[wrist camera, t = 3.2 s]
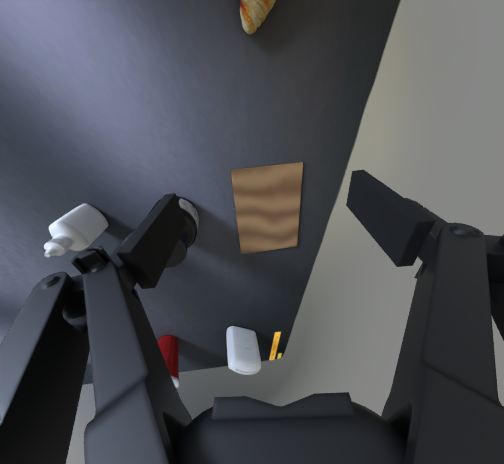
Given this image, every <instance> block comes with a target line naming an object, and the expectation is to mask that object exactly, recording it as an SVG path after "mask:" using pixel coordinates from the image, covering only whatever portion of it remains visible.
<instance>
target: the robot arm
mask: <svg viewBox="0 0 504 464" xmlns="http://www.w3.org/2000/svg"><path fill="white" fill-rule="evenodd" d="M346 205H347V207H348V208H349V209H350V210H351V212H352V213H353V214H354V215H355V216H356V218H357V219H358V220H359V221H360V222H361V224H362V225H363V226H364V227H365V229H366V230H367V231H368V232H369V233H370V234H371V236H372V237H373V238H374V239H375V241H376V242H377V243H378V244H379V246H380V247H381V248H382V249H383V250H384V252H385V253H386V254H387V255H388V256H389V258H390V259H391V260H392V261H393V262H394V264H395V265H396V266H397V267H401V266H412V265H413V264H414V262H415V260H416V258H417V256H418V257H419V258H420V259H421V260H422V261H423V263H422V265H421V267H420V268H419V270H418V272H417V274H416V276H415V278H417V282H416V287H415V291H414V296H413V299H412V304H411V308H410V312H409V317H408V320H407V325H406V329H405V333H404V337H403V342H402V346H401V351H400V354H399V359H398V363H397V367H396V371H395V375H394V380H393V384H392V388H391V392H390V394H389V397H388V399H387V401H386V404H385V406H384V409H383V412H382V416H379V415H378V414H376V413H375V412H373V411H372V410H370V409H368V408H366V407H364V406H362V405H360V404H357V403H354V402H352V401H351V398H350V395H349V393H348V392H347V393H324V394H323V393H321V394H313V395H310V396H308V397H305V398H303V399H300V400H298V401H295V402H293V403H291V404H288V405H285V406H281V407H280V406H275V405H272V404H269V403H266V402H262V401H259V400H256V399H252V398H250V397H246V396H243V397H216V398H214V405H213V407H211V408H209V409H207V410H206V411H204V412H202V413H201V414H200V415H198V416H197V417H196V418H194V419H193V420H192V418H191V416H190V415H189V412H188V411H187V409H186V408H185V406H184V404H183V403H182V401H181V399H180V397H179V394H178V392H177V389H176V387H175V384H174V382H173V380H172V377H171V375H170V372H169V370H168V367H167V365H166V362H165V360H164V357H163V355H162V352H161V350H160V348H159V345H158V343H157V340H156V338H155V335H154V333H153V330H152V328H151V325H150V323H149V320H148V318H147V316H146V313H145V311H144V308H143V306H142V303H141V301H140V298H139V296H138V293H137V291H136V290H135V289H134V286H135V285H136V283H138V284H139V285H140V287H141V288H142V289H146V288H155V287H156V285H157V283H158V281H159V279H160V277H161V274H162V272H163V270H164V268H165V266H166V264H167V262H168V260H169V258H170V256H171V254H172V252H173V250H174V248H175V246H176V244H177V242H178V240H179V238H180V236H181V234H182V232H183V230H184V228H185V226H186V224H187V222H186V220H185V217H184V215H183V212H182V210H181V207H180V205H179V202H178V199H177V197H176V194H167V195H165V196H164V197H163V198H162V199H161V201H160V202H159V203H158V204H157V205H156V207H155V208H154V209H153V210H152V211H151V212H150V214H149V215H148V216H147V217H146V218H145V220H144V221H143V222H142V223H141V224H140V225H139V227H138V228H137V229H135V230H134V231H133V232H131V233H130V234H129V235H128V236H127V237H126V238H125V239H124V241H122V243H121V244H120V245H119V246H118V247H117V248H116V250H115V251H114V252H113V253H112V254H111V255H110V256H109V255H108V254H107V253H106V251H105V250H104V249H103V248H102V247H101V246H95V247H91V248H88V249H86V250H84V251H82V252H80V253H79V254H77V255H76V256H75V257H74V258H73V259H72V261H71V263H72V264H73V265H74V266H75V267H76V268H77V269H78V270H79V271H80V272H81V273H82V274H81V275H78V276H75V277H72V278H71V277H70V276H69V275H68V274H67V273H66V272H58V273H54V274H52V275H49V276H47V277H46V278H44V279H42V280H41V281H40V282H39V283H38V284H37V285H36V286H35V287H34V289H33V290H32V292H31V294H30V295H29V297H28V299H27V300H26V302H25V304H24V305H23V307H22V309H21V310H20V312H19V314H18V315H17V317H16V319H15V320H14V322H13V324H12V325H11V327H10V329H9V330H8V332H7V334H6V335H5V337H4V339H3V341H2V342H1V344H0V464H66V459H67V455H68V450H69V445H70V440H71V436H72V430H73V426H74V421H75V416H76V412H77V407H78V402H79V398H80V393H81V388H82V384H83V379H84V374H85V369H86V365H87V360H88V355H89V350H90V356H91V366H92V376H93V386H94V397H95V406H96V415H95V417H94V419H93V420H92V421H90V422H89V423H88V424H87V426H86V429H85V432H84V455H85V464H504V406H502V405H501V403H500V402H499V398H498V391H497V379H496V368H495V355H494V342H493V330H492V318H491V315H492V317H493V319H494V321H495V323H496V326H497V328H498V330H499V332H500V334H501V336H502V338H503V340H504V235H503V236H491V235H484V234H483V232H481V231H480V230H479V229H476V228H474V227H472V226H469V225H466V224H461V223H447V222H446V221H444V220H443V219H441V218H440V217H438V216H437V215H435V214H434V213H432V212H430V211H429V210H428V209H426V208H423V206H422V205H420V204H419V203H417V202H416V201H413V200H410V199H408V198H403V197H401V196H400V195H399V194H397V193H396V192H395V191H393V190H392V189H390V188H389V187H387V186H386V185H384V184H383V183H382V182H380V181H379V180H377V179H376V178H375V177H373V176H372V175H370V174H369V173H367V172H366V171H365V170H357V171H352V176H351V182H350V187H349V193H348V198H347V204H346ZM63 316H64V317H63Z"/></svg>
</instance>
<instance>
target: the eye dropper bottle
mask: <svg viewBox="0 0 504 464" xmlns="http://www.w3.org/2000/svg"><path fill="white" fill-rule="evenodd" d="M107 227H108V222H107V220H106V218H105V217H104V216H103V215H102V214H101V213H100V212H99V211H98V210H97V209H95V208H94V207H92V206H91V205H88V204H82V205H80V206H78V207H76V208H75V209H73V210H71V211H70V212H68V213H67V214H65V215H64V216H62V217H61V218H59V219H58V220H56V221H55V222H54V223H52V224H51V225H50V226H49V231H50V233H51V235H52V237H53V239H51V240H50V241H49V242H47V243H46V244H45V245H44V248H45V250H46V252H45V254H44V256H46V257H50V256H52V255H56V256H59V255H63V254H64V253H65V252H66V251H67V250H68V249H71V250H75V251H81V250H83V249H85V248H87V247H88V246H89V245H90V244H91V243H92V242H93V241H94V240H95V239H96V238H97V237H98V236H99V235H100V234H101V233H102V232H103V231H104V230H105V229H106V228H107Z"/></svg>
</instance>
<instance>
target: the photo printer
mask: <svg viewBox="0 0 504 464" xmlns="http://www.w3.org/2000/svg"><path fill="white" fill-rule="evenodd" d="M226 335H227V353H228V366H229V368H230V369H231V370H233V371H235V372H237V373H240V374H245V375H251V374H255V373H258V371H259V370H260V369H261V359H260V354H259V348H258V343H257V338H256V333H255V331H252V330H249V329H245V328H240V327H236V326H230V327H229V328H228V329H227V333H226Z"/></svg>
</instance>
